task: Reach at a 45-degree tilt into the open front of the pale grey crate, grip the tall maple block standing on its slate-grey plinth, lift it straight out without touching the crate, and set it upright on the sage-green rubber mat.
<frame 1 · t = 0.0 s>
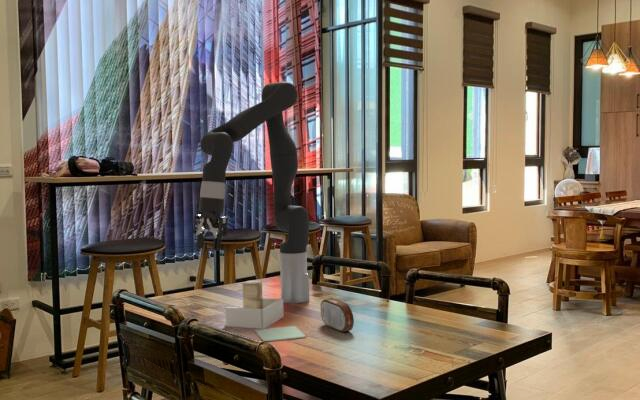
hand: (208, 249, 205), 22 cm above the table, tool pointing down, fingers open, 8 cm apart
tin: (336, 329, 195), on the table
maple block: (253, 314, 206), point 2 cm above the table, touching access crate
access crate: (253, 322, 206), on the table, touching maple block
sage mat: (279, 334, 190), on the table
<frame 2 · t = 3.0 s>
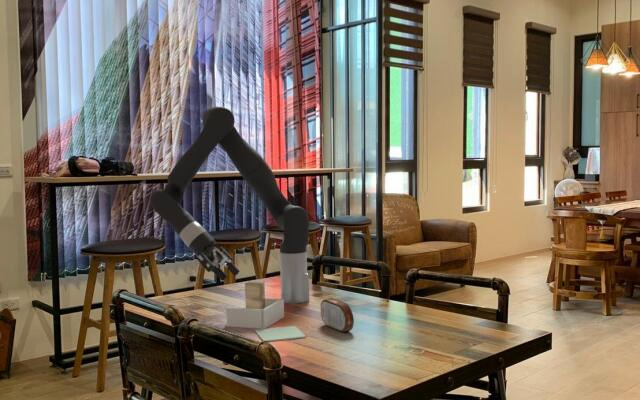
hand: (231, 276, 207), 14 cm above the table, tool tilted 45°, fingers open, 8 cm apart
nothing on the table moved.
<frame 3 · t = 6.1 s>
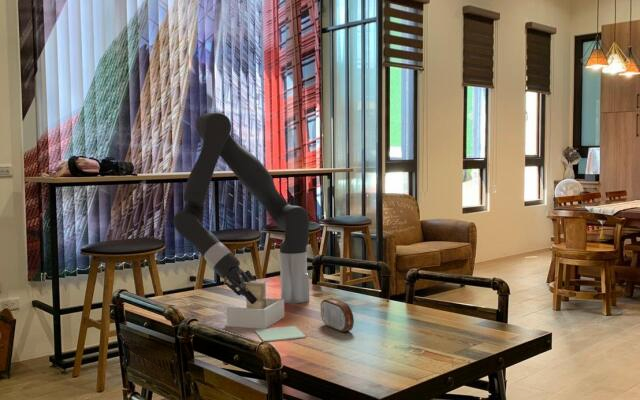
hand: (258, 300, 205), 7 cm above the table, tool tilted 45°, fingers closed on maple block, 4 cm apart
maple block: (256, 314, 206), point 2 cm above the table, touching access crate, gripper
everything else where it was.
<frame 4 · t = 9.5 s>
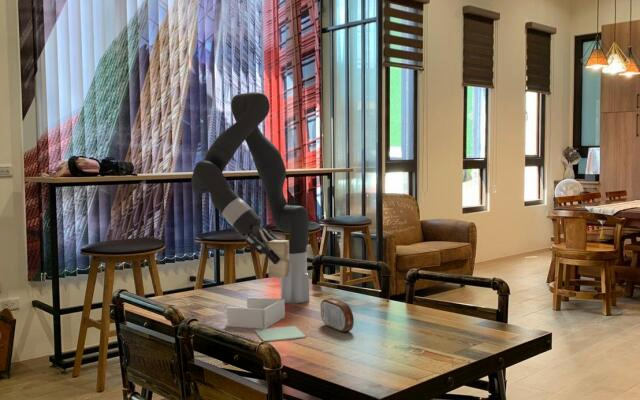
hand: (281, 260, 188), 21 cm above the table, tool tilted 45°, fingers closed on maple block, 4 cm apart
maple block: (279, 276, 189), point 17 cm above the table, touching gripper
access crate: (254, 322, 206), on the table
everything else where it was.
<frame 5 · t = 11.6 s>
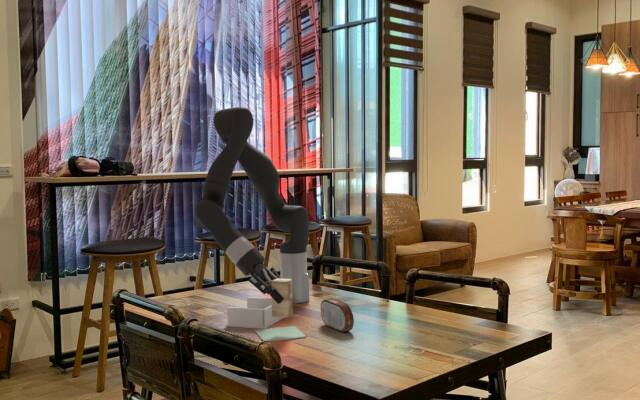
hand: (284, 299, 189), 10 cm above the table, tool tilted 45°, fingers closed on maple block, 4 cm apart
maple block: (282, 315, 189), point 6 cm above the table, touching gripper
everything else where it was.
when the fingers open (6 cm above the table, at t = 13.3 s): maple block drops 1 cm, resting on sage mat.
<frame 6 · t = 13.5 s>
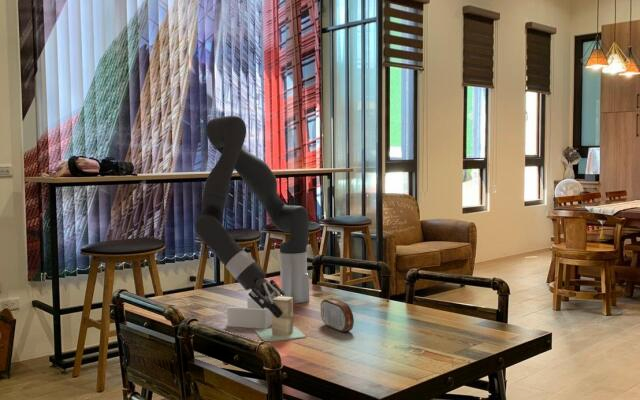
hand: (284, 312, 189), 6 cm above the table, tool tilted 45°, fingers open, 6 cm apart
maple block: (282, 333, 190), resting on sage mat
everything else where it was.
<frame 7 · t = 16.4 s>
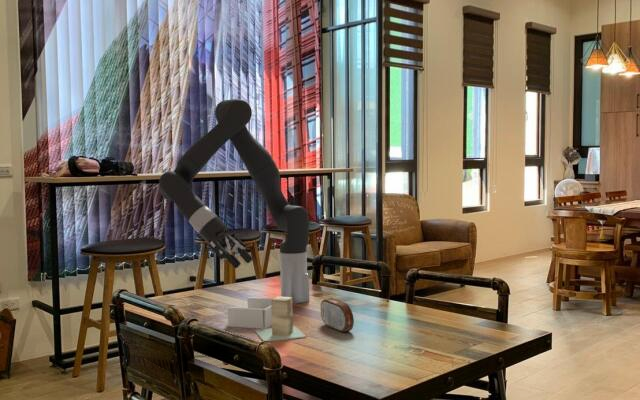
hand: (244, 263, 196), 19 cm above the table, tool tilted 45°, fingers open, 8 cm apart
nothing on the table moved.
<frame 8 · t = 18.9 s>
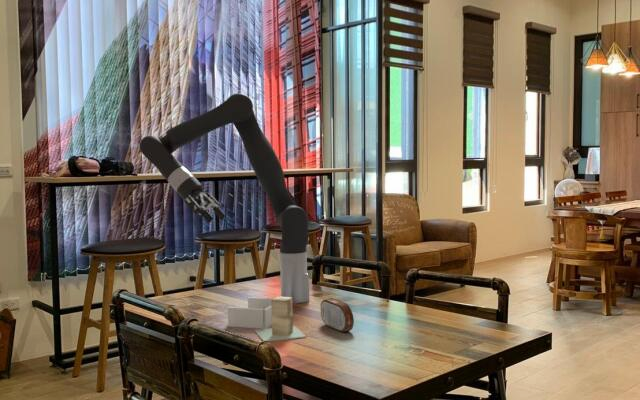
hand: (217, 219, 214), 31 cm above the table, tool tilted 45°, fingers open, 8 cm apart
nothing on the table moved.
at the end: maple block inside the target area on the sage mat (0.9 cm from its centre), point 0.4 cm above the sage mat's base; maple block tilted 0°; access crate moved 0.8 cm from its start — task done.
